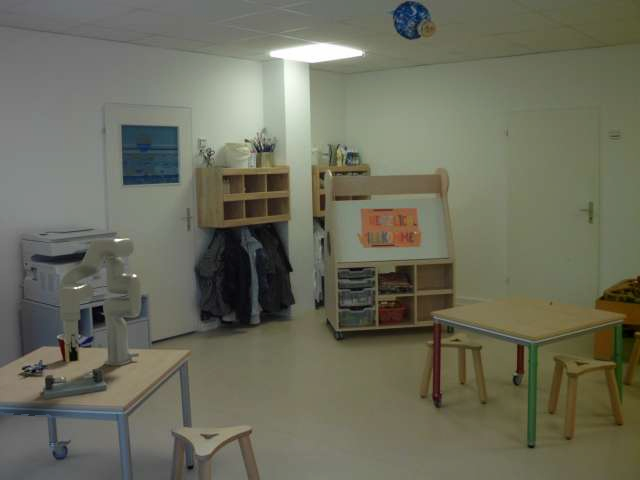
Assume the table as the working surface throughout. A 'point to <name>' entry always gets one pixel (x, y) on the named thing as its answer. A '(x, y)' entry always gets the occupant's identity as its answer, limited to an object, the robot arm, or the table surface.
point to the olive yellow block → (67, 350)
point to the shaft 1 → (53, 381)
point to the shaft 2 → (94, 375)
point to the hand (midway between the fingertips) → (72, 359)
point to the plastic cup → (62, 345)
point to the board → (74, 388)
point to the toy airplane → (34, 368)
